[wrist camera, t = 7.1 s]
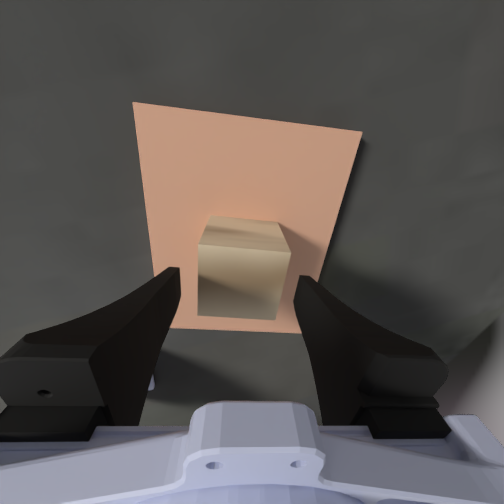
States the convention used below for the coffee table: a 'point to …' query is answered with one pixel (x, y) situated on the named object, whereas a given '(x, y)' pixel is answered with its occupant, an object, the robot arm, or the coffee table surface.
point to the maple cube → (241, 268)
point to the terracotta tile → (239, 194)
